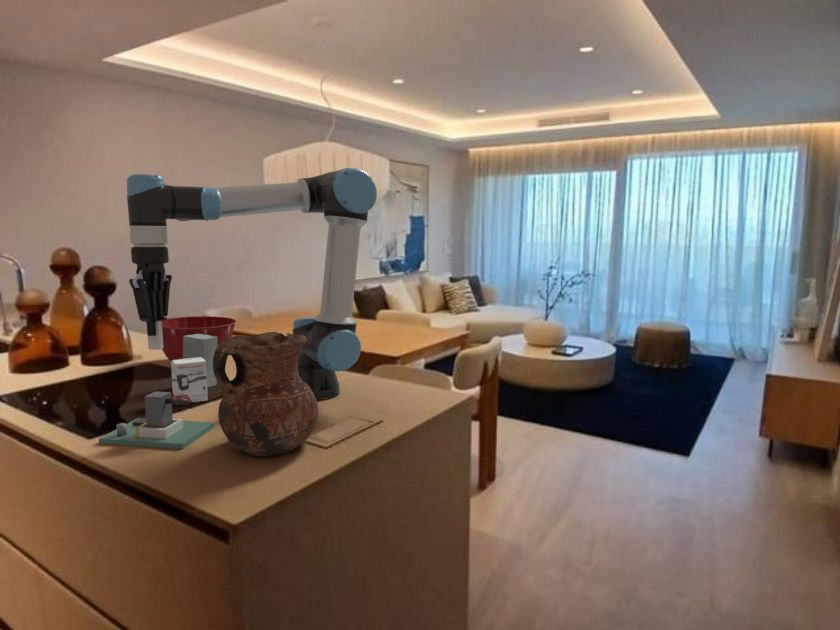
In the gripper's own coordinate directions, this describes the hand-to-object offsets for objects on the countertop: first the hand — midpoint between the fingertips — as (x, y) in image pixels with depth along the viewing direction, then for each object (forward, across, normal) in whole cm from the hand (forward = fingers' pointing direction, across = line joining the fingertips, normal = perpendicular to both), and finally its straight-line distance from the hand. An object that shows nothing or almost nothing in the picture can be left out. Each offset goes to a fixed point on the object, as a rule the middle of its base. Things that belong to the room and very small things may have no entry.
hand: (156, 348), depth 126 cm
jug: (+21, +3, +28) cm, 35 cm away
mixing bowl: (+21, -69, -28) cm, 77 cm away
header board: (+21, +1, 0) cm, 21 cm away
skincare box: (+21, -41, -11) cm, 47 cm away
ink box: (+21, -26, -7) cm, 34 cm away
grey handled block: (+19, +2, +3) cm, 20 cm away
